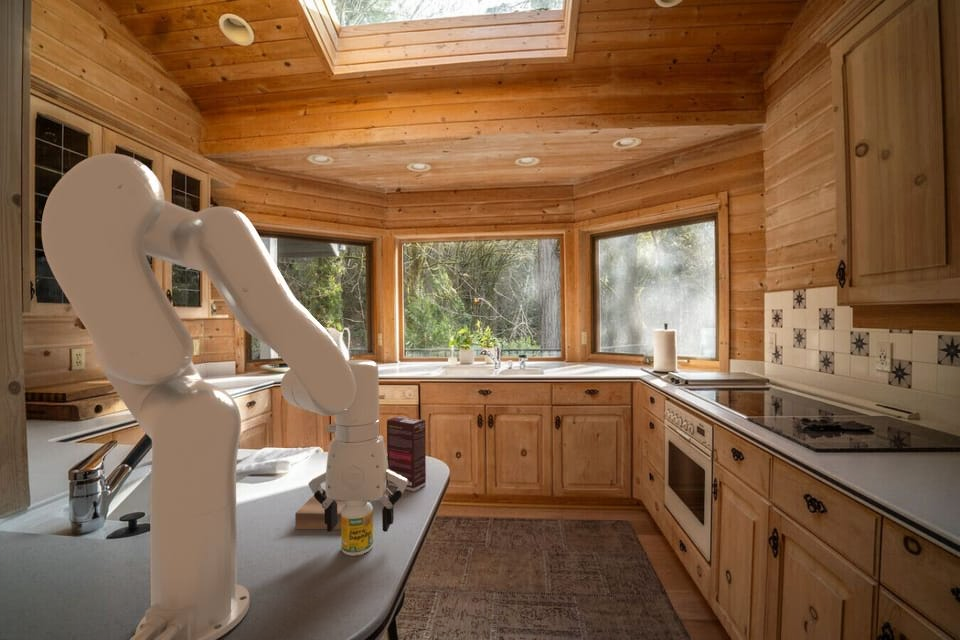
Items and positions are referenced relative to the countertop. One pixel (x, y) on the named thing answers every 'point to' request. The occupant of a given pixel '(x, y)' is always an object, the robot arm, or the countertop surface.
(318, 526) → the square wooden block
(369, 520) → the supplement bottle
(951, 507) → the countertop surface
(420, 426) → the supplement box
